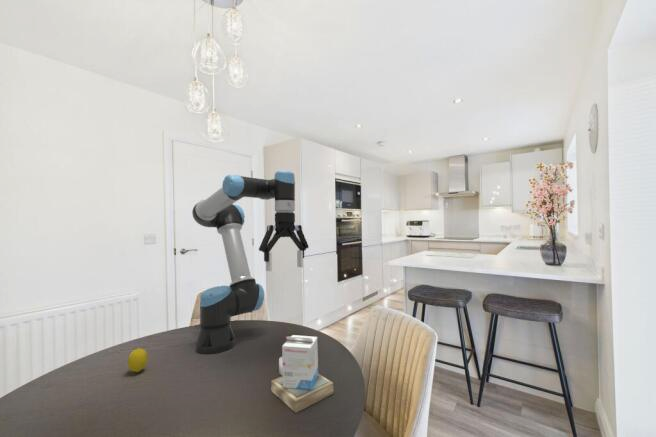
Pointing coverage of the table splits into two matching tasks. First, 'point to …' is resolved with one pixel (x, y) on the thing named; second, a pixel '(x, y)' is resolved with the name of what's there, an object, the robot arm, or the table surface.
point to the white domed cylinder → (280, 366)
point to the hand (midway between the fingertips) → (285, 269)
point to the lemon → (137, 360)
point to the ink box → (300, 362)
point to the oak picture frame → (302, 393)
